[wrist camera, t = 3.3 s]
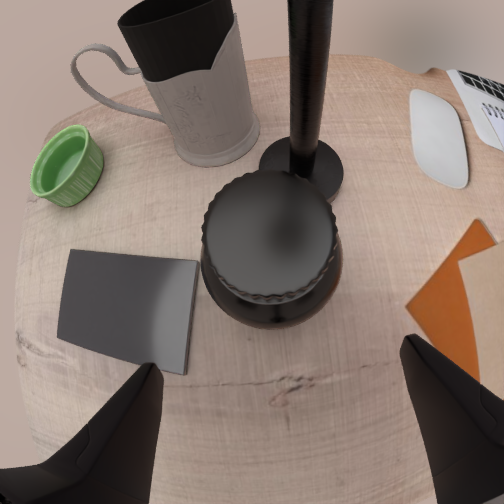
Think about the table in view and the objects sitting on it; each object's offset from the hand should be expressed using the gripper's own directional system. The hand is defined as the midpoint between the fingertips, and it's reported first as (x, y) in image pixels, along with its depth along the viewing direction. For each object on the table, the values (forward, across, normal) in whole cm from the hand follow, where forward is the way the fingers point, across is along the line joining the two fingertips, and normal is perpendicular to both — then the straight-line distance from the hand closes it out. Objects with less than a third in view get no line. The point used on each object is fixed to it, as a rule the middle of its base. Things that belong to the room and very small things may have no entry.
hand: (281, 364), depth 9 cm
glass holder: (+22, +7, -6) cm, 24 cm away
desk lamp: (+18, -3, -2) cm, 18 cm away
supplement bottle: (+11, 0, +5) cm, 12 cm away
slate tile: (+11, +14, +5) cm, 18 cm away
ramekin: (+21, +21, -5) cm, 30 cm away
